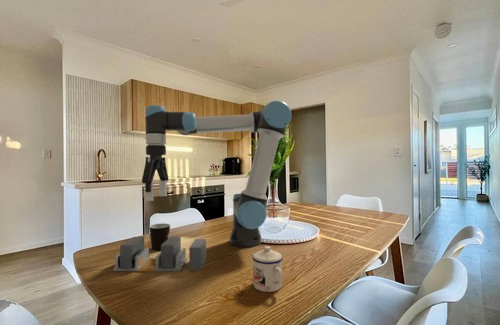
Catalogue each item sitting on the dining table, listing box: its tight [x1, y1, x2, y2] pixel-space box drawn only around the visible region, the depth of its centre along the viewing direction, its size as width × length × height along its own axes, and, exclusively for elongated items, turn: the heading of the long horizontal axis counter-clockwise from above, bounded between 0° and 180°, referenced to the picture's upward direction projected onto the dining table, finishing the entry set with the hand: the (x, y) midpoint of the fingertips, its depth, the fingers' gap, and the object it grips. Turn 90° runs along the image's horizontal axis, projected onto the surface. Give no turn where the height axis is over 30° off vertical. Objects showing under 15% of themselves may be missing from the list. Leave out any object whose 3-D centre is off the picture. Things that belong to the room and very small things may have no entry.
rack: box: [113, 236, 188, 273], centre depth 90 cm, size 23×10×9 cm, turn 90°
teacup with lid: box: [252, 245, 284, 293], centre depth 75 cm, size 12×9×12 cm
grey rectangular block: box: [188, 238, 207, 272], centre depth 92 cm, size 4×10×8 cm, turn 0°
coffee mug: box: [149, 222, 171, 252], centre depth 110 cm, size 12×9×10 cm
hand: (156, 198), depth 100 cm, fingers open, 13 cm apart
